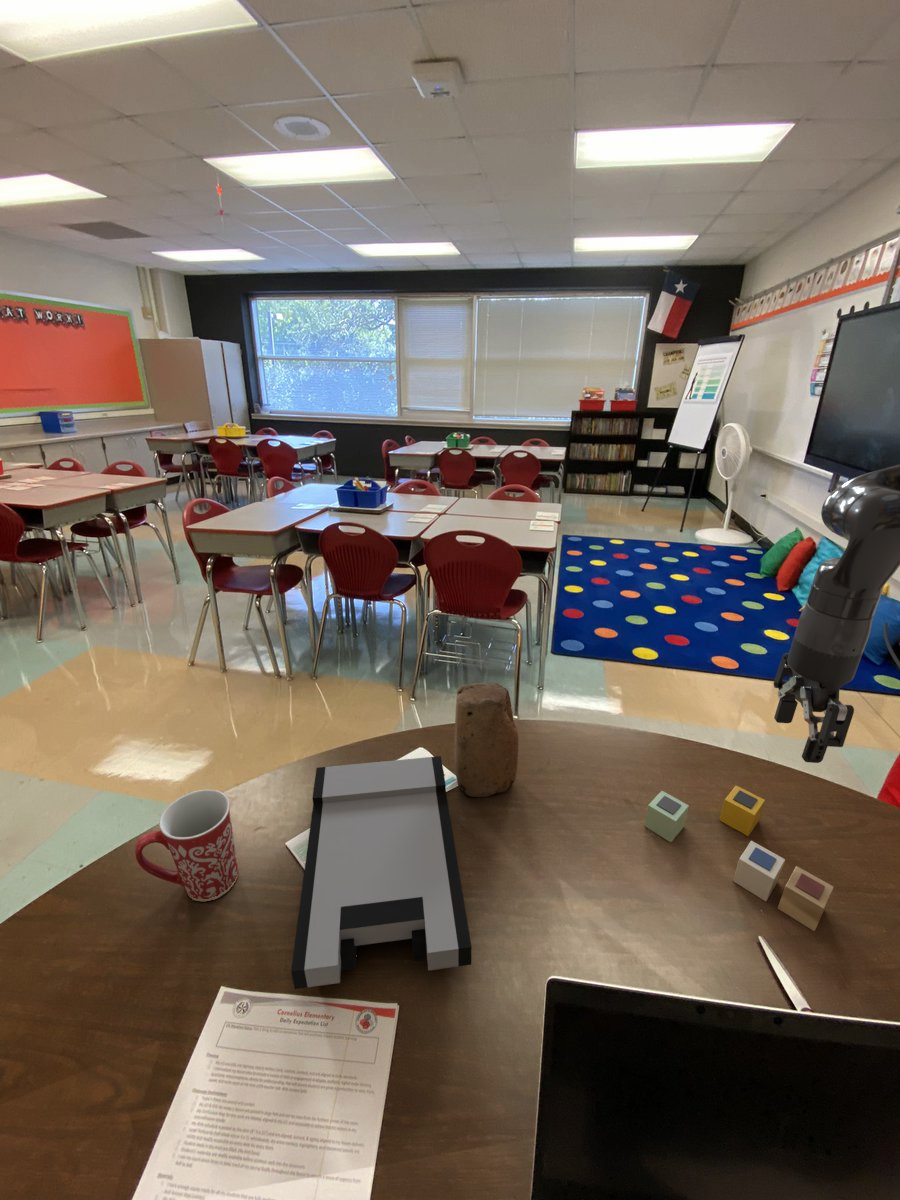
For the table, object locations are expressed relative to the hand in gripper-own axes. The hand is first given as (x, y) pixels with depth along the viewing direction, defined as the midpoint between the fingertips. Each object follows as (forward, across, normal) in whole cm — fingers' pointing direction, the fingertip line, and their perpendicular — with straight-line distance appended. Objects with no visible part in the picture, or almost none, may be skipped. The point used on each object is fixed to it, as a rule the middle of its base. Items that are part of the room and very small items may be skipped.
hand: (795, 740), depth 76 cm
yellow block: (+21, +5, +2) cm, 21 cm away
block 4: (+21, -11, -1) cm, 23 cm away
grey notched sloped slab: (+21, -12, +58) cm, 63 cm away
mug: (+21, -16, +84) cm, 88 cm away
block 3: (+21, -7, +4) cm, 22 cm away
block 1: (+21, +9, +44) cm, 49 cm away
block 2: (+21, +2, +14) cm, 25 cm away
